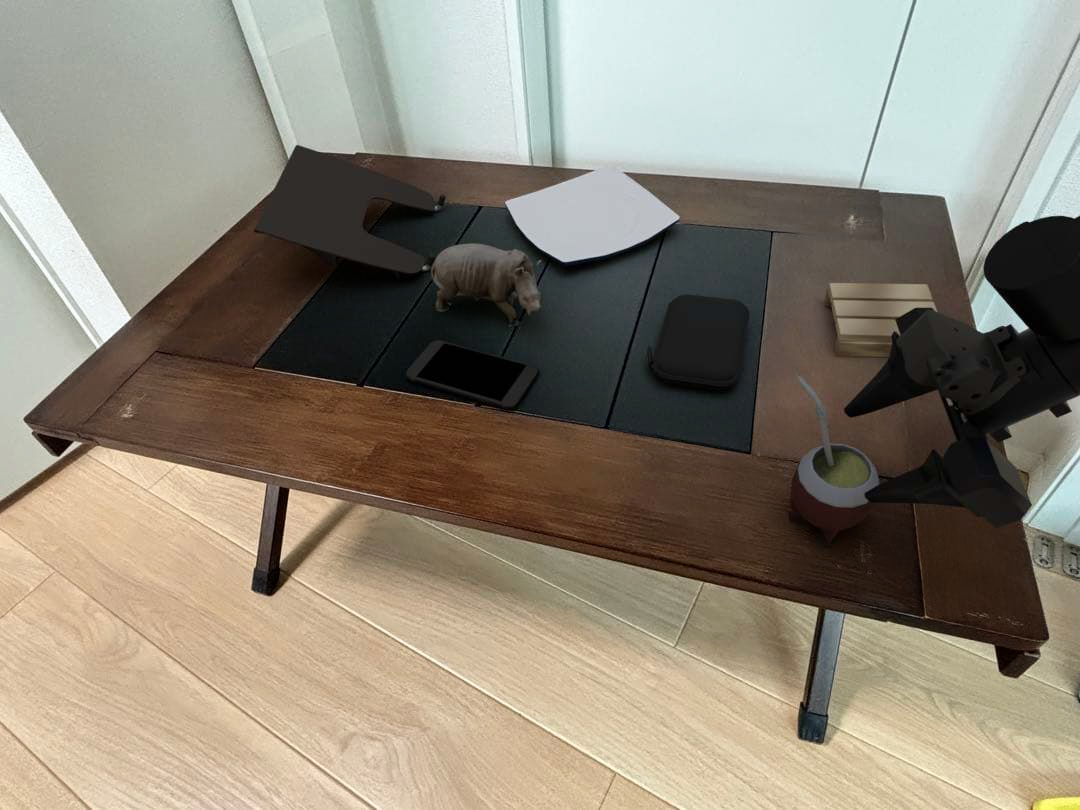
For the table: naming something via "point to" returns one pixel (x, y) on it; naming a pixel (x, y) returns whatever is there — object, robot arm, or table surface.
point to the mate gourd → (831, 483)
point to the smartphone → (473, 374)
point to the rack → (871, 314)
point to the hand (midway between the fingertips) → (856, 453)
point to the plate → (590, 217)
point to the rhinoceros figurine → (486, 277)
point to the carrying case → (701, 342)
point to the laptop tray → (340, 211)
